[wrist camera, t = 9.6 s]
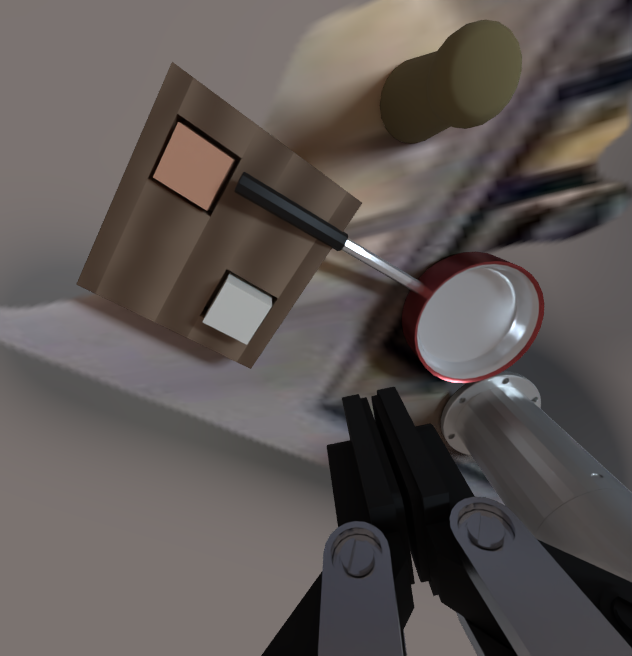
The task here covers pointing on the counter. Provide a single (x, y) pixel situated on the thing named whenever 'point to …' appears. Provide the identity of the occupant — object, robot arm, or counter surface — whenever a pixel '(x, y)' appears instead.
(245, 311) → the cream key
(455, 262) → the frying pan
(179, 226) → the brown wooden flat board
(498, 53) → the olive brown rounded cylinder
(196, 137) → the terracotta key
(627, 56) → the counter surface
